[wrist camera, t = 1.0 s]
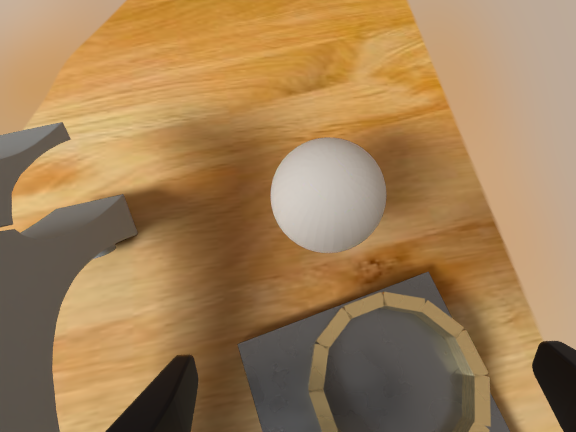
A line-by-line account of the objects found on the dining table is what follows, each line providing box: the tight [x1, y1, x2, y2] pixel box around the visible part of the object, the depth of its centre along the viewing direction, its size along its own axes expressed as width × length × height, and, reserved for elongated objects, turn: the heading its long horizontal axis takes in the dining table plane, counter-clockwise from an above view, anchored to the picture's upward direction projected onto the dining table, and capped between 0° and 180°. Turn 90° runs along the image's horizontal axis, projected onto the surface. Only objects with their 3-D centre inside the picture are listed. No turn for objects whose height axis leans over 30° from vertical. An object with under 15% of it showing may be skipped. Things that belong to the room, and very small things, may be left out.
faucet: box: [0, 122, 137, 432], centre depth 17 cm, size 6×17×30 cm
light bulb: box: [271, 138, 386, 253], centre depth 20 cm, size 6×6×10 cm
